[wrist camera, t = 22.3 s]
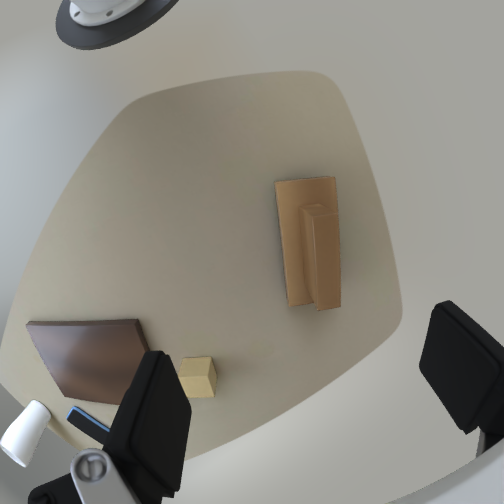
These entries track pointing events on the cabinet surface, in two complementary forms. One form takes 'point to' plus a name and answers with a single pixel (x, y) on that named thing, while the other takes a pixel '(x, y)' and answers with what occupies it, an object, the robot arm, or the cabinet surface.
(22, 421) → the drinking glass
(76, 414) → the smartphone
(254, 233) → the cabinet surface
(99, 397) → the book
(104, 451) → the robot arm
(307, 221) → the brown block with base
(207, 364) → the cream foam cube
